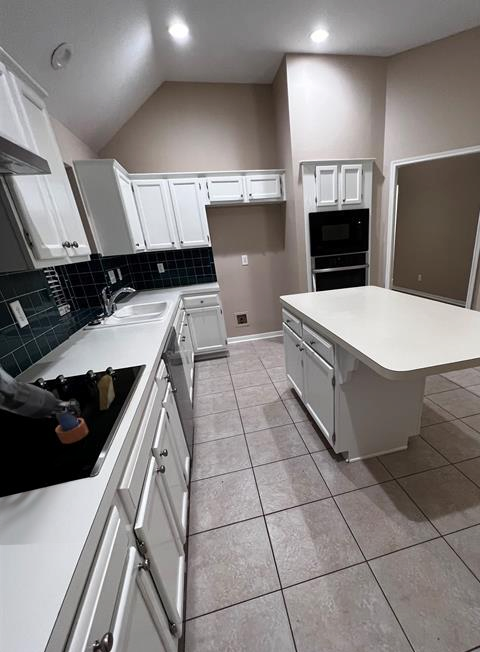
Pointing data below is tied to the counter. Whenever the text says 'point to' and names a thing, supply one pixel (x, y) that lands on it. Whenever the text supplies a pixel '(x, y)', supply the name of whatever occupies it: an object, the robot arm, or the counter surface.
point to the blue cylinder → (67, 421)
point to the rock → (106, 392)
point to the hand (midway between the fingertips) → (69, 414)
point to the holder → (73, 432)
